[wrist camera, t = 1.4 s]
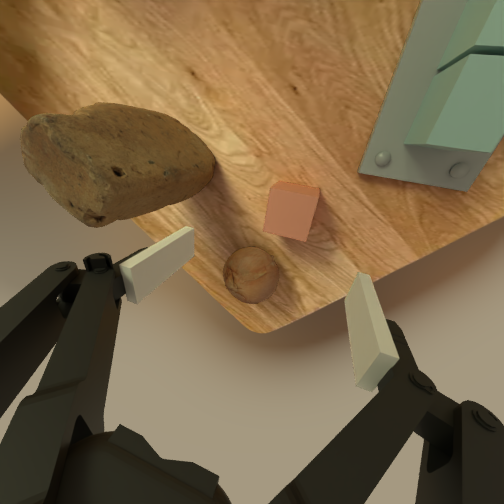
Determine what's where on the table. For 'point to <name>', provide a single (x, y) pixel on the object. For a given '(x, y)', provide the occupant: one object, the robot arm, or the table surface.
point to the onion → (251, 275)
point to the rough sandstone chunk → (114, 161)
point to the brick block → (291, 210)
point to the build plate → (407, 104)
